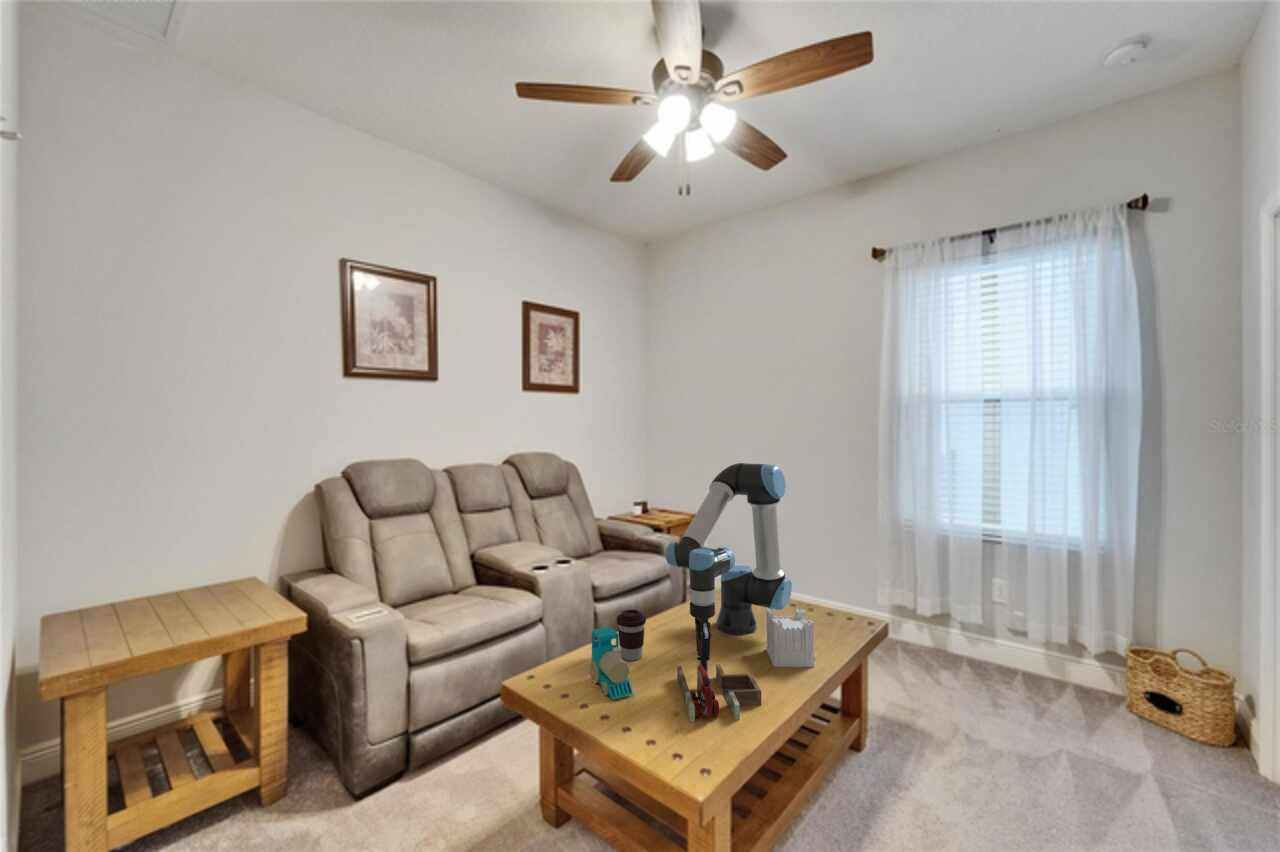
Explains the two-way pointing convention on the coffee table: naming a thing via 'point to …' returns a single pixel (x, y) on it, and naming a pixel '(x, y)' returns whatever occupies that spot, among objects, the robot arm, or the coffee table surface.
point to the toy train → (609, 664)
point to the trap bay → (742, 689)
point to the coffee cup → (631, 634)
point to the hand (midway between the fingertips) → (703, 679)
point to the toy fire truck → (704, 695)
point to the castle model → (790, 640)
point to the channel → (687, 697)
